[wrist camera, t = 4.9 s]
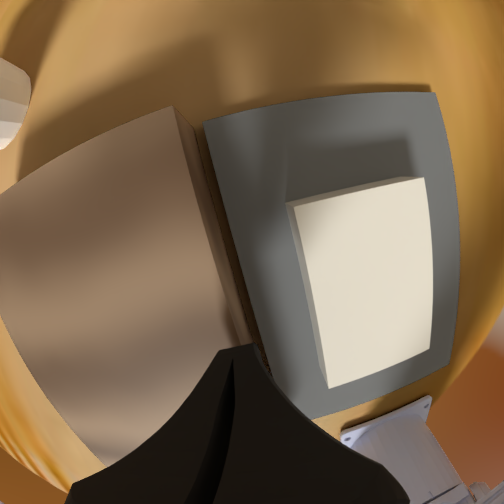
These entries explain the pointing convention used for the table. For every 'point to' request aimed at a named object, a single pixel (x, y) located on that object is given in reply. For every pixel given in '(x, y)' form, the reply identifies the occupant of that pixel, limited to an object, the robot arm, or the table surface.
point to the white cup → (12, 100)
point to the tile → (366, 274)
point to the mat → (323, 181)
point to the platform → (118, 280)
